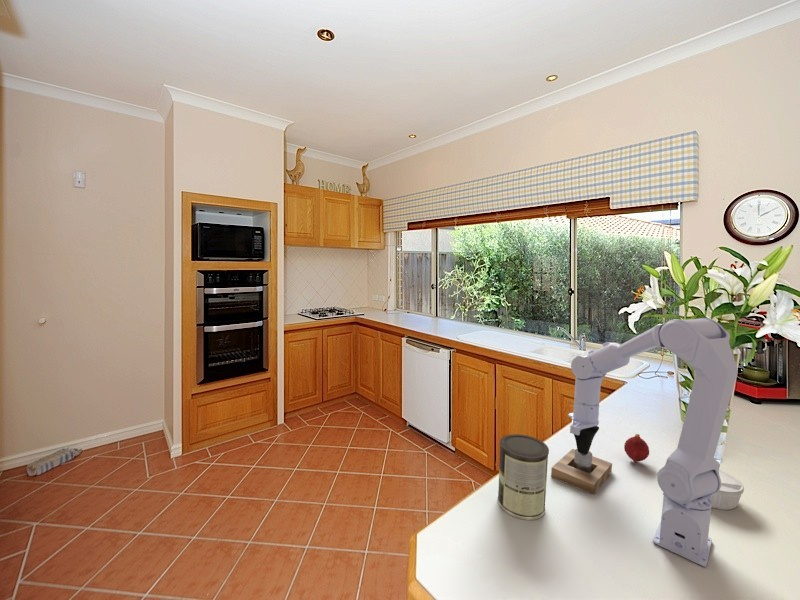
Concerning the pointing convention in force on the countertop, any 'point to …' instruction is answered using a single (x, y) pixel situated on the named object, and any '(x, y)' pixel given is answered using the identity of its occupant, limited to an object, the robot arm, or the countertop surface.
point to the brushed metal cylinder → (583, 461)
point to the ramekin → (727, 492)
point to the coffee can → (523, 476)
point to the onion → (636, 448)
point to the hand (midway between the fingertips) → (582, 452)
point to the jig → (581, 473)
